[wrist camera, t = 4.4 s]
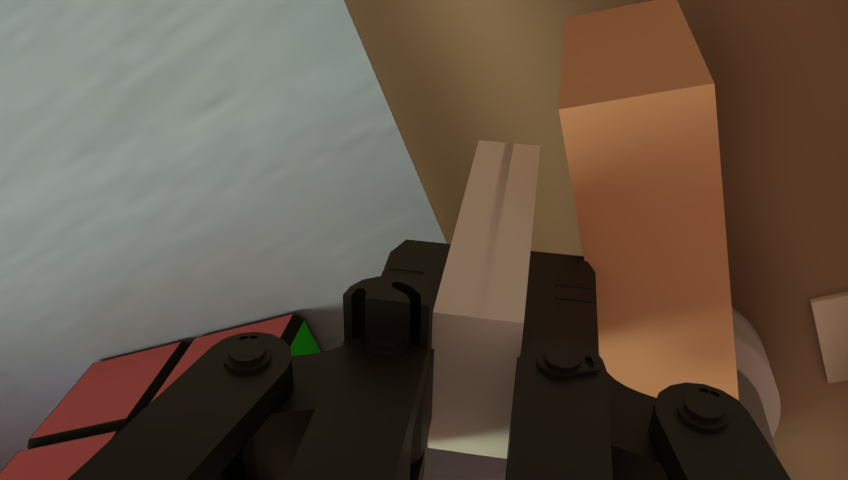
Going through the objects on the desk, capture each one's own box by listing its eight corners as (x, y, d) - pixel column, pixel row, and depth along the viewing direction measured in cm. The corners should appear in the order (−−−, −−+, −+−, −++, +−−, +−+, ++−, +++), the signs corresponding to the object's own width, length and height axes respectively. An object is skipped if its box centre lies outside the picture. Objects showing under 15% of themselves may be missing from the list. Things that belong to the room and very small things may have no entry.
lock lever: (595, 486, 25) (599, 668, 20) (508, 28, 18) (480, 122, 13) (767, 478, 24) (819, 671, 18) (738, -17, 17) (805, 67, 12)
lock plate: (566, 475, 31) (565, 569, 27) (335, -93, 22) (284, -69, 18) (941, 416, 27) (999, 518, 23) (838, -311, 18) (906, -336, 14)
